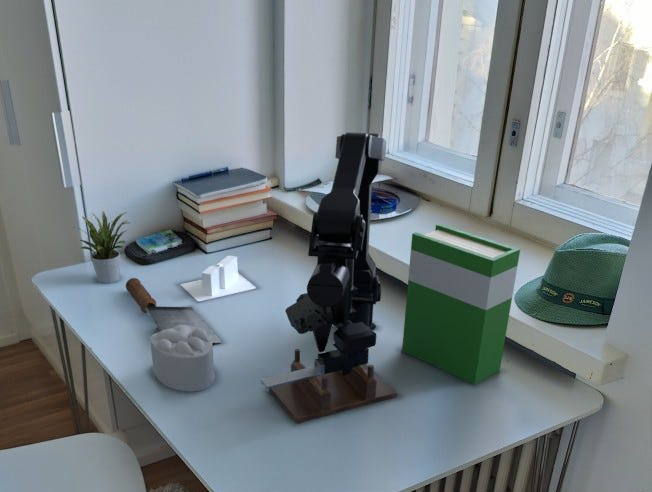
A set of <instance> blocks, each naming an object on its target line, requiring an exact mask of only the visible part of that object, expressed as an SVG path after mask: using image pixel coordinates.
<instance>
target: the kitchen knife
mask: <svg viewBox="0 0 652 492" xmlns="http://www.w3.org/2000/svg"><path fill="white" fill-rule="evenodd" d="M369 351H370V349H369V348H366V349H365V350H364V352H363V353H362V354H361V356H360V357H359V359H358V360H357V362H356V363H355V365H354V367H356V366H360V365H364V364H366V365H369V353H370V352H369ZM313 362H314V363H313V366H310V367H306V368H305V369H301V370H297V371H293V372H291V371H290V372H286V373H285V372H284V373H280V374H278V375H277V374H276V375H273V376H269V377H264V378H261V379H260V383H261V384H262V385H263V386H264V388H265V389H266V390H269V389H270V388H274V387H278V386H282V385H286V384H290V383H294V382H298V381H302V380H306V379H310V378H314V377H318V376H322V375H324V374H327V373H331V372H335V371H339V370H342V369H341V358H340V351H339V350H338V349H337V348H336V349H333V350H329V351H328V350H327V351H324V352H319V353H317V358H315V359H314V360H313Z"/></svg>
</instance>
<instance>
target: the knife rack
mask: <svg viewBox="0 0 652 492" xmlns="http://www.w3.org/2000/svg"><path fill="white" fill-rule="evenodd" d="M305 368H307V366H306V365H305V364H304V363H303V362H302V361H301V349H300V348H295V349H294V359H293V360H292V362H291V364H290V372H293V371H297V370H301V369H305ZM268 391H269V392H270V394H271V395H272V396H273V397H274V399H275V400H276V401H277V402H278V403H279V404H280V405H281V407H282V408H283V409H284V410H285V411H286V412H287V413H288V415H289V416H290V417H291V418H292V420H293V421H294V422H295V423H296V424H300V423H303V422H307V421H311V420H316V419H318V418H322V417H326V416H329V415H333V414H337V413H341V412H345V411H348V410H349V411H350V410H352V409H356V408H360V407H364V406H368V405H371V404H375V403H379V402H382V401H386V400H390V399H395V398H398V391H397V390H396V389H394V388H393V386H391V385H390V383H388V382H386V380H385V379H383V377H381V376H380V374H379V375H378V373H376V372H375V365H374V364H364V365H360V366H356V367H353V368H352V370H351V371H350V373H349V374H348V375H345V376H344V375H343V374H342V370H339V371H335V372H331V373H327V374H324V375H322V376H318V377H314V378H310V379H306V380H302V381H298V382H294V383H290V384H286V385H282V386H278V387H274V388H270V389H268Z"/></svg>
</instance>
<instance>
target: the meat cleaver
mask: <svg viewBox="0 0 652 492" xmlns="http://www.w3.org/2000/svg"><path fill="white" fill-rule="evenodd" d="M125 289H126V291H127V292H128V293H129V294H130V295H131V297H132V298H133V300H134V301H135V303H136V304H137V305H138V306H139V309H140V311H141V312H143V313H144V314H148V316H149V318H150V319H151V321H153V323H154V325H155V326H156V327H157V329H158V330H159V332H160V331H162V330H166V329H171V328H174V327H176V326H178V325H188V326H194V327H196V328H202V329H204V330H205V332H206V334H207V335H208V336H209V337H210V338H211V340H212V344H222V343H223V342H222V341H221V339H220V338H219V337H218V336H217V335H216V334H215V333H214V331H213V330H212V329H211V328H210V327H209V326H208V325H207V323H206V322H205V321H204V320H203V319H202V317H201V316H200V315H199V314H198V313H197V312H196V311H195V309H194V308H193V307H192V306H157V300H156V299H155V298H154V297H152V296H151V294H150V293H149V292H148V290H147V288H145V287H144V285H143V284H142V282H141V281H140V279H138V278H136V277H132V278H130V279H128V280H127V281H126V284H125Z"/></svg>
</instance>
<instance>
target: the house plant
mask: <svg viewBox="0 0 652 492" xmlns="http://www.w3.org/2000/svg"><path fill="white" fill-rule="evenodd" d="M127 213H128V211H125V212H122V213H120V214H118V215H116V218H114V220H113V221H110V222H108V217H107V216H106V213H105V211H102V212H101V218H102V221H101V220H100V219H99V218H98V217H97V215H95V213H93V212H91V214H92V216H93V217H94V218H95V219H96V220H97V223H98V227H99V228H98V230H97V228H96V226H95V225H94V224H93V222H91V221H90V220H89V219H87V218H86V217H84V216H81V217H82V218H81V219H83V220H84V221H85V223H86V225H87V227H88V228H89V232H88V233H87V232H86V231H84V230H83V229H82V228H79V227H77V226H74V228H76V229H78V230H80V231H82V232H84V233H85V234H87V235H88V234H89V237H90V239H91V240H92V242H93V243H92V242H90V241H88V240H84V239H79V241H80V242H83V243H84V244H85V245H87V246H85V245H84V246H81V247H80V248H79V250H81V249H82V250H83V249H84V250H87V251H91V252H92V253H91V254H90V260H91V263H92V266H93V269H94V273H95V275H96V278H97V281H98V282H99V283H102V284H111V283H116V282H118V281H119V280H120V276H121V275H120V273H121V272H120V271H121V252H120V251H119V250H118V249H123V250H125V249H124V247H123V246H122V245H117V244H123V245H125V246H127V244H126V243H127V242H126V240H120V241H119V239H120V238H121V237H122V235H123V234H124V233H125V232H127V231H128V229H126V230H123V231H121V232H120V233H119V231H120V229H121V227H122V226H123V225H126V224H130V221H129V219H128V220H123V221H122V222H120V223H119V224H118V226H117V228H116V229H115V227H116V225H117V223H118V222H119V220H120V219H121V217H122V216H123V215H126V214H127ZM128 221H129V222H128ZM101 222H102V223H101ZM114 229H115V232H114ZM113 232H114V233H113ZM118 233H119V234H118ZM90 247H91V248H90Z"/></svg>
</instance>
